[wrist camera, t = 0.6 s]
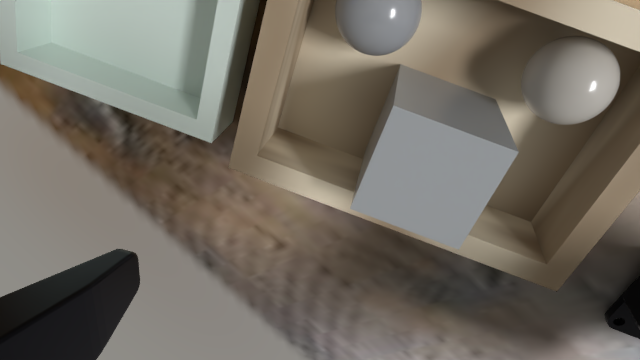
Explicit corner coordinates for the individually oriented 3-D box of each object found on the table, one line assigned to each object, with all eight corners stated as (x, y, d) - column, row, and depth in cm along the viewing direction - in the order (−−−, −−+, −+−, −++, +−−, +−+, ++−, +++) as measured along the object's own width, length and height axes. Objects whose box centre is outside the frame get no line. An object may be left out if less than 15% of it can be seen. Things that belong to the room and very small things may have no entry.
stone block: (495, 99, 18) (519, 151, 14) (450, 181, 20) (458, 249, 16) (400, 64, 18) (393, 105, 14) (365, 149, 20) (349, 208, 16)
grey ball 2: (620, 45, 16) (658, 66, 14) (571, 118, 18) (597, 151, 15) (540, 16, 16) (563, 32, 14) (499, 92, 18) (512, 119, 15)
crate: (690, 29, 16) (753, 51, 13) (537, 240, 21) (557, 291, 18) (317, -107, 16) (293, -116, 13) (255, 134, 21) (228, 167, 18)
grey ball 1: (435, -23, 16) (438, -14, 14) (403, 57, 18) (400, 77, 15) (357, -51, 16) (345, -48, 14) (331, 30, 18) (316, 46, 15)
